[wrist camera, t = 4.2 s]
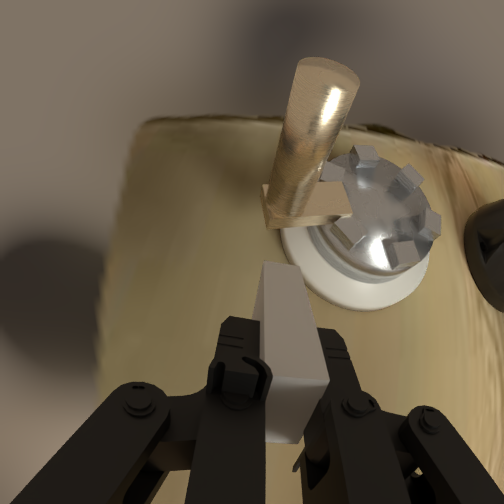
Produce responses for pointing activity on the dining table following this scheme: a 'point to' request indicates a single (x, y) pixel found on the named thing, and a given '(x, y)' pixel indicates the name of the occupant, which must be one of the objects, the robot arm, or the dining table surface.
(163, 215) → the dining table surface
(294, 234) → the nut base plate
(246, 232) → the dining table surface
